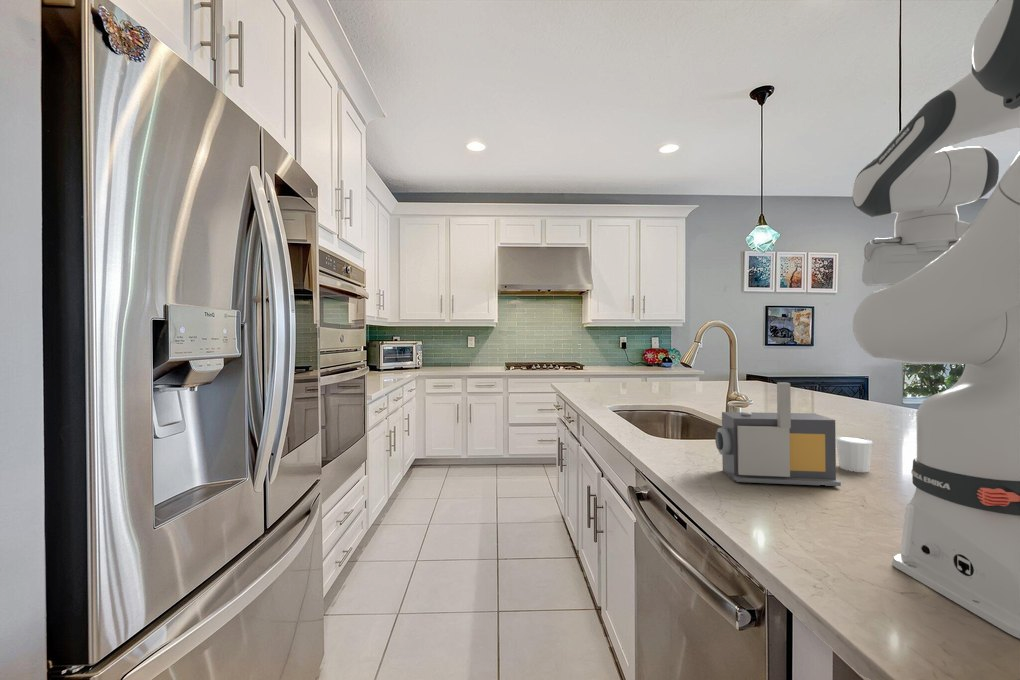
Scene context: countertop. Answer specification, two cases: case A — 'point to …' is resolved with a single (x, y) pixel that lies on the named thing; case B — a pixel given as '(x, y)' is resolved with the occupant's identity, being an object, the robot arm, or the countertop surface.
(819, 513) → the countertop surface
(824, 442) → the camera housing
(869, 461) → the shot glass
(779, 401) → the side door
